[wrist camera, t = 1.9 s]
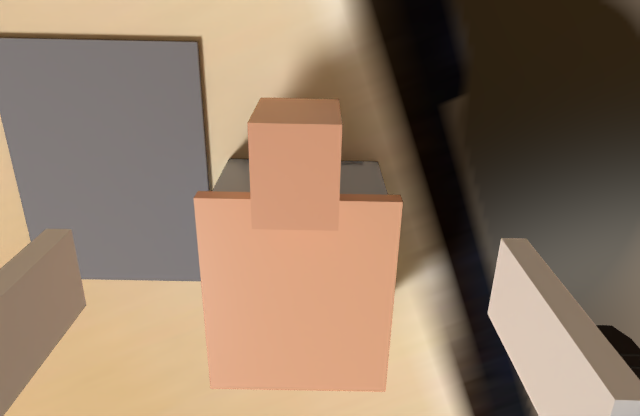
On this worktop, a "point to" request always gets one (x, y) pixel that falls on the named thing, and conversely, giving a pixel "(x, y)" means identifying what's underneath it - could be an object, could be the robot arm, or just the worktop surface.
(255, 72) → the worktop surface
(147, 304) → the worktop surface
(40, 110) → the mat
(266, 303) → the lid
